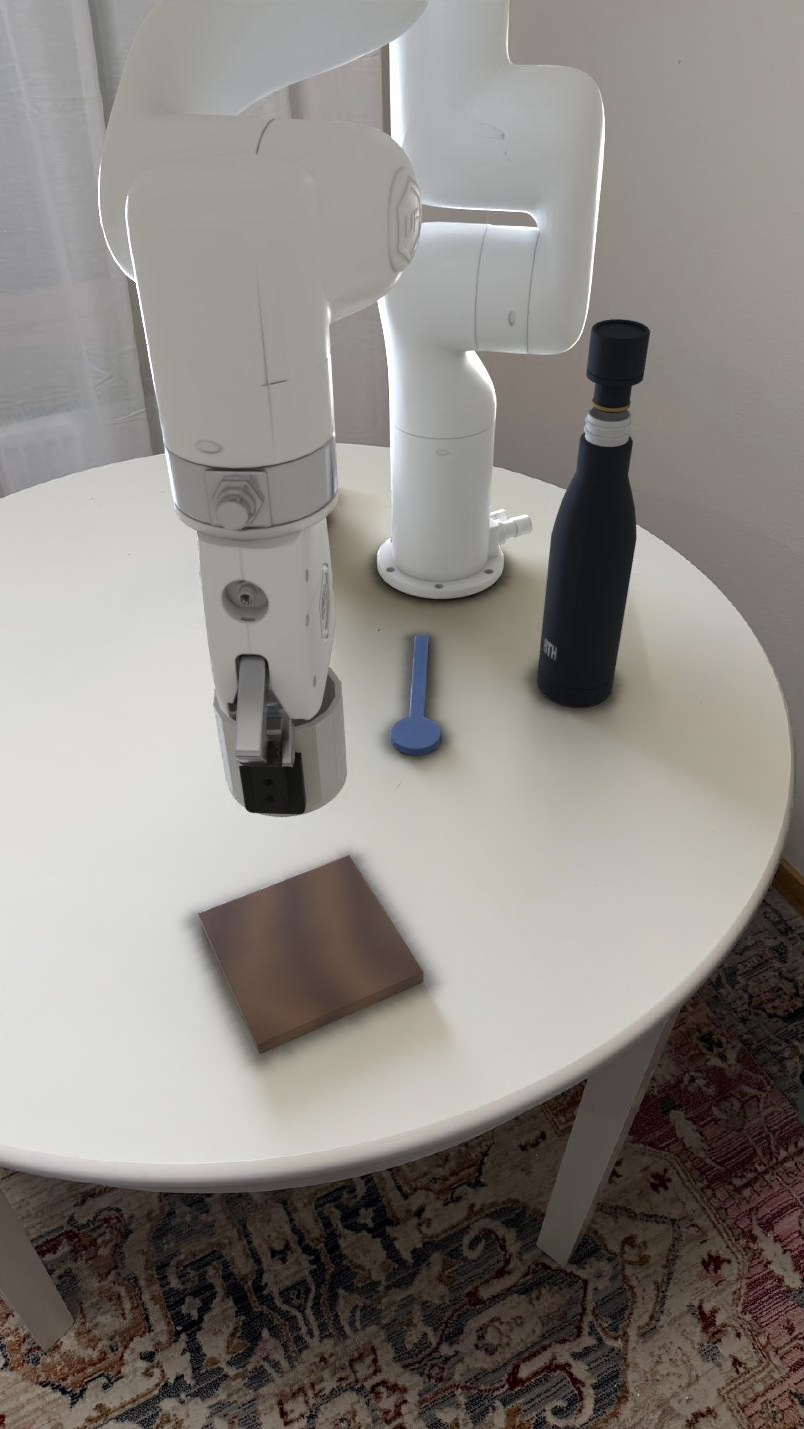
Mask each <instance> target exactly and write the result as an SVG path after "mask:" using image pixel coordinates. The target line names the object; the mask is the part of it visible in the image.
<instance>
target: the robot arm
mask: <svg viewBox="0 0 804 1429" xmlns="http://www.w3.org/2000/svg"><path fill="white" fill-rule="evenodd" d="M510 2H511V1H510V0H157V2H156V3H155V4H154V6H153V7H152V8H151V9H150V11H149V12H148V13H147V14H146V16H145V18H144V19H143V20H142V23H141V24H140V26H139V28H138V30H137V31H136V33H135V36H134V38H133V40H132V42H131V45H130V47H129V50H128V53H127V56H126V59H125V62H124V65H123V69H122V72H121V76H120V80H119V83H118V86H117V90H116V93H115V97H114V100H113V104H112V108H111V111H110V114H109V118H108V121H107V125H106V130H105V135H104V139H103V147H102V151H101V156H100V162H99V174H98V184H97V186H98V189H97V190H98V210H99V218H100V225H101V228H102V232H103V236H104V238H105V243H106V245H107V247H108V250H109V251H110V253H111V255H112V257H113V259H114V261H115V263H116V264H117V265H118V266H119V268H120V269H121V270H122V272H123V273H124V274H125V275H126V276H127V277H128V278H129V279H130V280H132V281H134V282H135V283H136V284H135V285H136V290H137V295H138V296H137V297H138V300H139V308H140V313H141V318H142V323H143V329H144V330H143V331H144V335H145V340H146V344H147V345H146V347H147V353H148V358H149V359H148V360H149V365H150V370H151V376H152V382H153V387H154V393H155V398H156V404H157V411H158V416H159V422H160V429H161V434H162V441H163V447H164V453H165V460H166V465H167V470H168V475H169V476H168V477H169V481H170V489H171V494H172V501H173V502H172V503H173V506H174V511H175V514H176V516H177V517H178V519H179V520H180V522H182V523H183V524H184V525H186V527H189V528H190V529H192V530H194V531H196V538H197V550H198V563H199V564H198V565H199V573H198V575H199V578H200V585H201V595H202V596H201V597H202V607H203V616H204V623H205V632H206V639H207V647H208V648H207V649H208V654H209V662H210V668H211V674H212V680H213V685H214V691H215V690H216V695H217V699H218V702H219V705H220V708H221V709H222V711H223V712H224V713H225V714H226V715H227V716H229V717H230V718H232V717H233V716H234V715H235V713H236V733H235V758H236V759H237V762H238V765H239V771H240V777H241V784H242V790H243V797H244V803H245V807H244V809H245V810H246V811H247V812H248V813H251V814H258V813H267V814H302V815H304V814H303V813H304V812H305V807H306V795H305V785H304V775H303V765H302V755H301V753H298V752H295V719H305V720H310V719H311V718H313V717H314V716H315V715H316V714H317V712H318V711H319V709H320V707H321V704H322V700H323V695H324V690H325V685H326V680H327V674H328V669H329V667H330V663H331V657H332V653H333V652H332V651H333V645H334V638H335V634H336V633H335V632H336V622H337V608H336V597H335V589H334V580H333V579H334V578H333V571H332V561H331V552H330V550H331V549H330V540H329V532H328V523H327V517H328V516H329V515H330V514H331V513H332V512H333V511H334V510H335V508H336V506H337V505H338V502H339V497H340V494H339V477H338V476H339V475H338V458H337V457H338V456H337V454H338V453H337V437H336V423H335V404H334V387H333V386H334V384H333V367H332V351H331V350H332V349H331V332H330V325H331V324H333V323H336V322H338V321H339V320H342V319H344V318H345V317H349V316H351V315H353V314H355V313H358V312H361V311H363V310H364V309H366V308H368V307H370V306H372V305H374V304H376V303H377V304H378V310H379V314H380V321H381V325H382V330H383V338H384V344H385V351H386V358H387V359H386V360H387V372H388V391H389V393H388V394H389V441H390V442H389V443H390V444H389V449H390V450H389V452H390V499H391V500H390V502H391V503H390V505H391V506H390V507H391V536H390V537H389V538H387V539H386V540H385V541H384V542H383V543H382V544H381V545H380V547H379V549H378V551H377V554H376V565H377V566H376V567H377V568H376V569H377V571H378V574H379V576H380V577H381V579H383V581H384V582H385V583H386V584H388V585H389V586H390V587H392V588H393V589H396V590H398V591H399V592H401V593H403V594H407V595H410V596H414V597H417V598H424V599H431V600H432V599H433V600H450V599H459V598H465V597H468V596H471V595H475V594H478V593H480V592H482V591H485V590H486V589H488V588H489V587H491V586H492V585H493V584H495V583H496V582H497V581H498V580H499V578H500V577H501V576H502V574H503V570H504V560H505V557H504V552H503V550H502V549H501V547H500V546H501V545H504V544H506V542H507V540H509V539H512V538H518V537H522V536H526V535H528V534H531V533H532V531H533V522H532V520H531V518H530V516H528V515H527V514H523V515H519V516H515V517H511V518H509V519H508V514H507V512H506V510H505V509H499V510H495V511H491V510H492V492H493V490H492V489H493V471H494V470H493V469H494V454H495V453H494V452H495V451H494V450H495V431H496V417H497V396H496V392H495V387H494V384H493V381H492V379H491V377H490V374H489V373H488V371H487V369H486V367H485V366H484V364H483V362H482V361H481V359H480V357H479V356H478V354H477V353H476V352H481V351H482V352H495V353H497V352H498V353H507V354H524V355H547V356H548V355H549V356H550V355H558V354H562V353H565V352H567V351H569V350H571V349H572V348H573V347H574V346H575V345H576V344H577V342H578V341H579V340H580V338H581V335H582V333H583V331H584V328H585V324H586V320H587V316H588V311H589V305H590V298H591V289H592V280H593V269H594V258H595V248H596V238H597V236H596V235H597V228H598V218H599V217H598V216H599V207H600V196H601V187H602V186H601V185H602V178H603V166H604V151H605V135H606V134H605V132H606V131H605V127H606V126H605V108H604V102H603V98H602V97H603V96H602V94H601V90H600V88H599V86H598V84H597V82H596V81H595V80H594V78H593V77H592V76H591V75H589V74H588V73H587V72H585V71H583V70H581V69H579V68H576V67H571V66H566V65H555V64H554V65H553V64H551V65H550V64H549V65H548V64H515V63H513V62H512V61H511V59H510V56H509V51H508V50H509V46H508V41H509V19H510V18H509V15H510ZM386 45H389V98H390V134H388V133H386V132H384V131H383V130H381V129H379V128H376V127H374V126H371V125H368V124H364V123H360V122H353V121H348V120H347V121H346V120H333V119H332V120H331V119H308V118H307V119H304V118H300V119H299V118H281V117H278V116H264V115H263V116H262V115H261V116H259V115H240V114H241V113H242V112H244V111H245V110H246V109H248V108H249V107H251V106H253V105H254V104H255V103H257V102H259V101H261V100H262V99H264V98H265V97H267V96H269V95H271V94H272V93H275V92H277V91H279V90H281V89H284V88H287V87H289V86H291V85H295V84H296V83H299V82H301V81H304V80H307V79H310V78H312V77H315V76H318V75H321V74H323V73H327V72H329V71H332V70H334V69H337V68H339V67H341V66H345V65H347V64H349V63H351V62H353V61H355V60H358V59H359V58H361V57H365V56H366V55H368V54H369V55H370V54H371V53H374V52H375V51H377V50H380V49H381V48H383V47H384V46H386ZM423 205H425V206H430V207H437V208H448V209H461V210H462V209H463V210H477V211H478V210H479V211H496V212H497V211H498V212H499V211H500V212H502V211H503V212H518V213H519V212H520V213H521V212H522V213H526V214H528V215H530V216H531V217H532V218H533V220H534V221H535V223H536V227H535V226H518V225H517V226H515V225H514V226H513V225H493V224H491V223H473V222H472V223H471V222H452V221H451V222H450V221H426V222H422V220H423V218H422V217H423ZM269 691H273V693H274V694H275V696H276V697H277V699H278V701H279V702H268V692H269ZM267 718H279V719H281V742H278V741H273V740H269V738H268V737H267V730H266V729H267Z"/></svg>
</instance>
